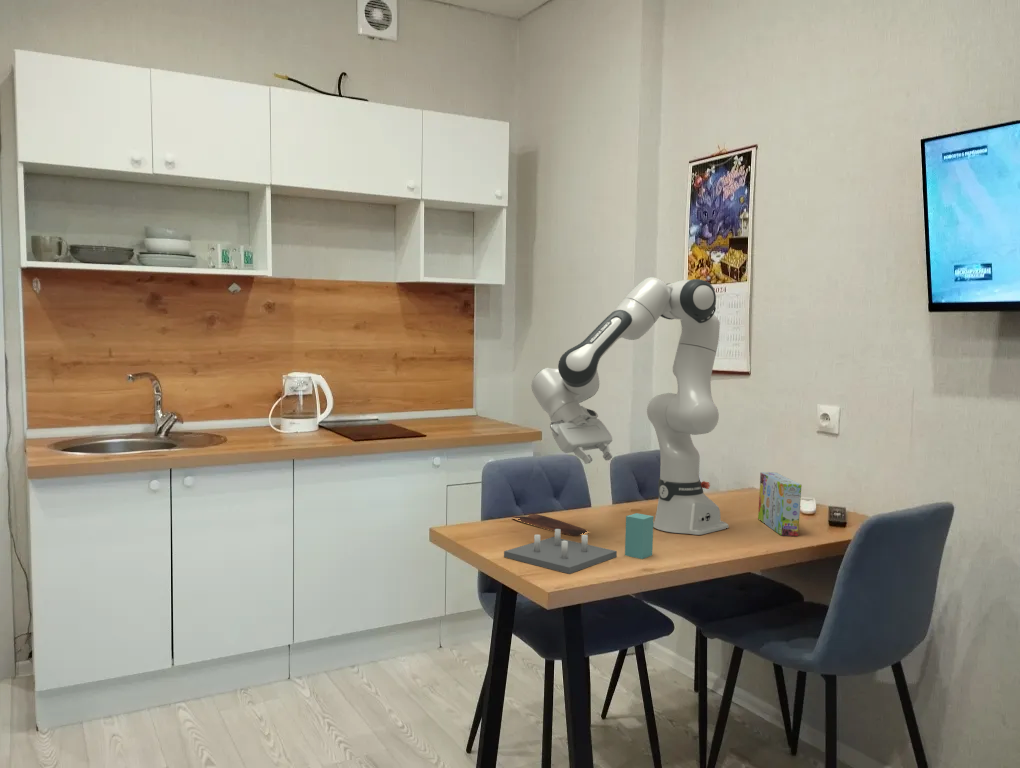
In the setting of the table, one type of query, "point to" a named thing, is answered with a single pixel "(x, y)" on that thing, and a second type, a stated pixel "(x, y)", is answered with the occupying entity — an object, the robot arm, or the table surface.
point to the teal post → (639, 535)
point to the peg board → (560, 553)
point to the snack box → (779, 503)
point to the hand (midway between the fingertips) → (599, 460)
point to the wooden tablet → (552, 524)
